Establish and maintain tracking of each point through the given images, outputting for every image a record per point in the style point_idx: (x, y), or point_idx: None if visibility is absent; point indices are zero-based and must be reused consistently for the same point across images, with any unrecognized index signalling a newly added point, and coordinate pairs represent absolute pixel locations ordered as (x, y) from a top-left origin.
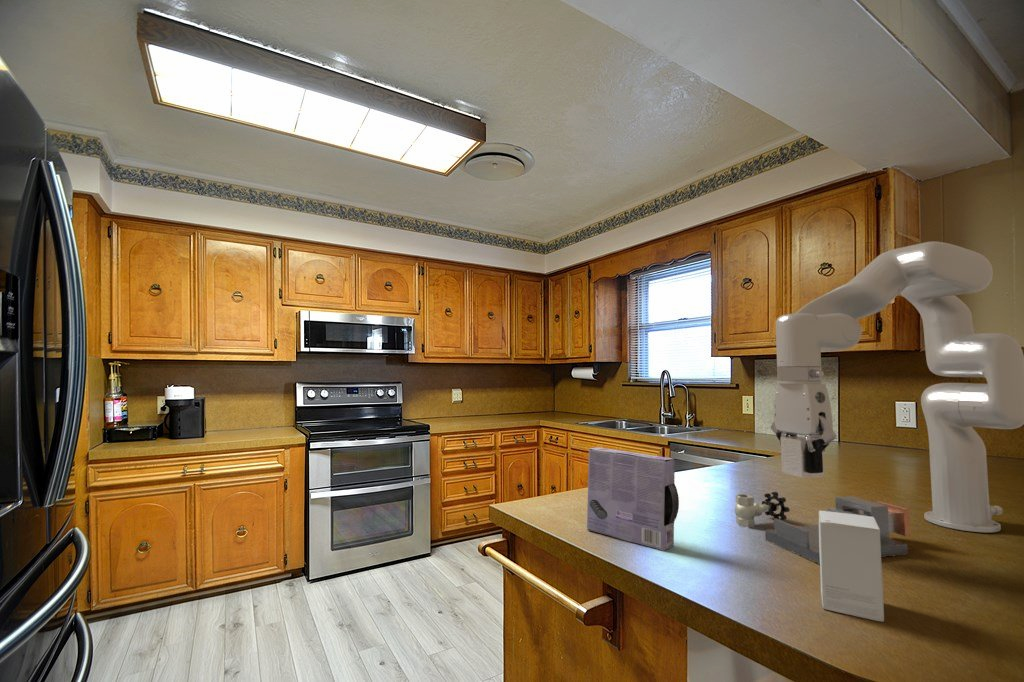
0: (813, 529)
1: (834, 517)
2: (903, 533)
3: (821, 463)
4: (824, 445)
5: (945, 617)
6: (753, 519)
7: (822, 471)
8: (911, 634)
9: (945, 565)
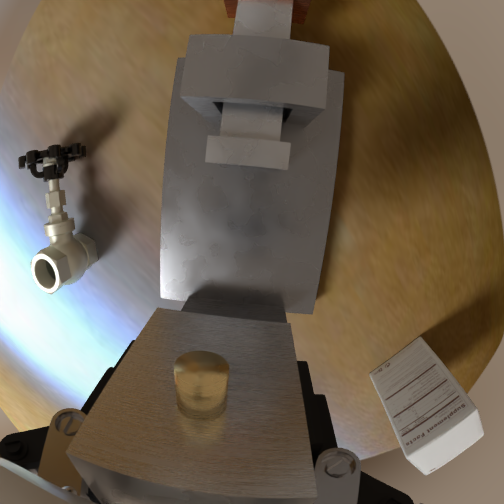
0: (188, 182)
1: (436, 459)
2: (300, 21)
3: (326, 411)
4: (376, 495)
5: (469, 296)
6: (83, 244)
7: (306, 364)
8: (455, 361)
9: (394, 78)
